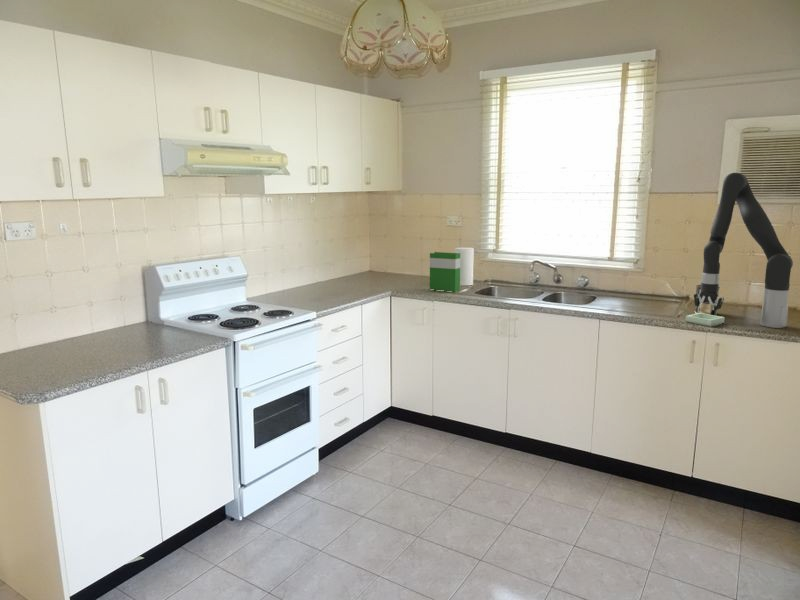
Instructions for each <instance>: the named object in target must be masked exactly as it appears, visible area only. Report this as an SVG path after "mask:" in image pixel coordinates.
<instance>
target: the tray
mask: <svg viewBox="0 0 800 600" xmlns="http://www.w3.org/2000/svg"><path fill="white" fill-rule="evenodd" d="M725 320H726V319H725V317H724V316H719V315H716V316H715V315H709V314H704V313H692V314H688V315H685V321H684V322H685V323H688V322H689V323H688V324H694V325H699V326H704V327H709V328H712V327H716V326H719V324H720V325H723V324H722V323H724V324H725Z"/></svg>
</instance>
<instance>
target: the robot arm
mask: <svg viewBox="0 0 800 600" xmlns="http://www.w3.org/2000/svg"><path fill="white" fill-rule="evenodd" d="M721 188H722V189H721V195H720V198H719V199H720V200H719V203H718V207H717V210H716V213H715V217H714V219H713V222H712V225H711V229H710V237H709V240H708V242H707V243H706V244H705V245H704V247H703V267H702V268H703V269H702V273H701V274H702V275H701V281H700V282H701V283H700V285H701V293H700V294H696V293H694V294H693V299H694V300H693V301H694V307H695V306H697V307H699V311H700V303H706V302H707V303H710V305H712V310H711V315H715V316H717V314H716V310H717V311H718V310H720V309H721V308H722V306H723V303H724V300H725V298H724V297H721V296H719V294H718V287H720V269H721V263H720V255H721V253H722V252H723V250H724V247H725V242H726V236H727V234H728V231H729V229H730V226H731V222H732V218H733V212H734V208H735V204H737V206H738V209H739V212H740V216H741V219H742V221H743V223H744V225H745V228H746V229H747V231H748V232H749V234H750V236H751V237H752V238H753V239H754V241H755V242H756V243H757V244H758V245H759V246H760V248H761V249H762V251H763V253H764V255H765V257H766V260H767V263H766V267H765V275H764V277H765V278H764V291H763V299H762V307H761V308H762V309H761V316H760V324H759V325H760V326H762V327H765V328H766V327H767V328H773V329H775V328H776V329H782V328H786V327H787V324H788V323H787V322H788V314H789V307H790V306H789V305H788V301H789V300H788V299H789V290H790V280H791V271H792V268H793V266H794V261H793V258H792V257H791V256H790V255H789V253H788V252H787V251H786V249H785V248H784V246H783V245H782V243H781V242H780V240H779V238H778V235H777V233H776V230H775V228H774V227H773V226H774V225H772V222H771V221H770V218H769V217H768V215H767V213H766V212H765V210H764V208H763V207H762V206H761V204H760V202H759V201H758V200H757V199H756V197H755V195H754V193H753V191H752V188H751V185H750V184H749V181H748V178H747V177H746V175H745V174H743V173H740V172H732V173H729V174H727V175H726V176H725V177H724V178H723V180H722V187H721ZM700 297H701V301H700V300H699V298H700ZM716 299H717V301H718V303H717V306H716V301H715V300H716Z"/></svg>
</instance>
